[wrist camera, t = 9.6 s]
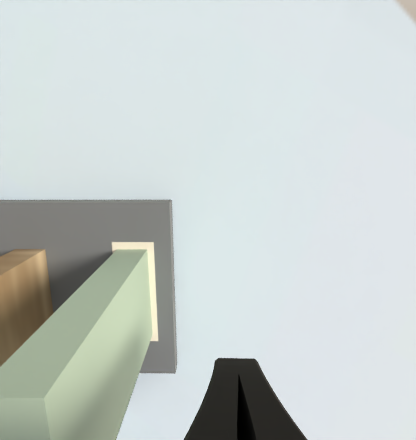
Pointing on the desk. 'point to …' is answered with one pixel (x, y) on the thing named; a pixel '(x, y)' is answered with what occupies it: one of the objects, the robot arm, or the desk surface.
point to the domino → (22, 298)
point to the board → (101, 253)
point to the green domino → (82, 358)
